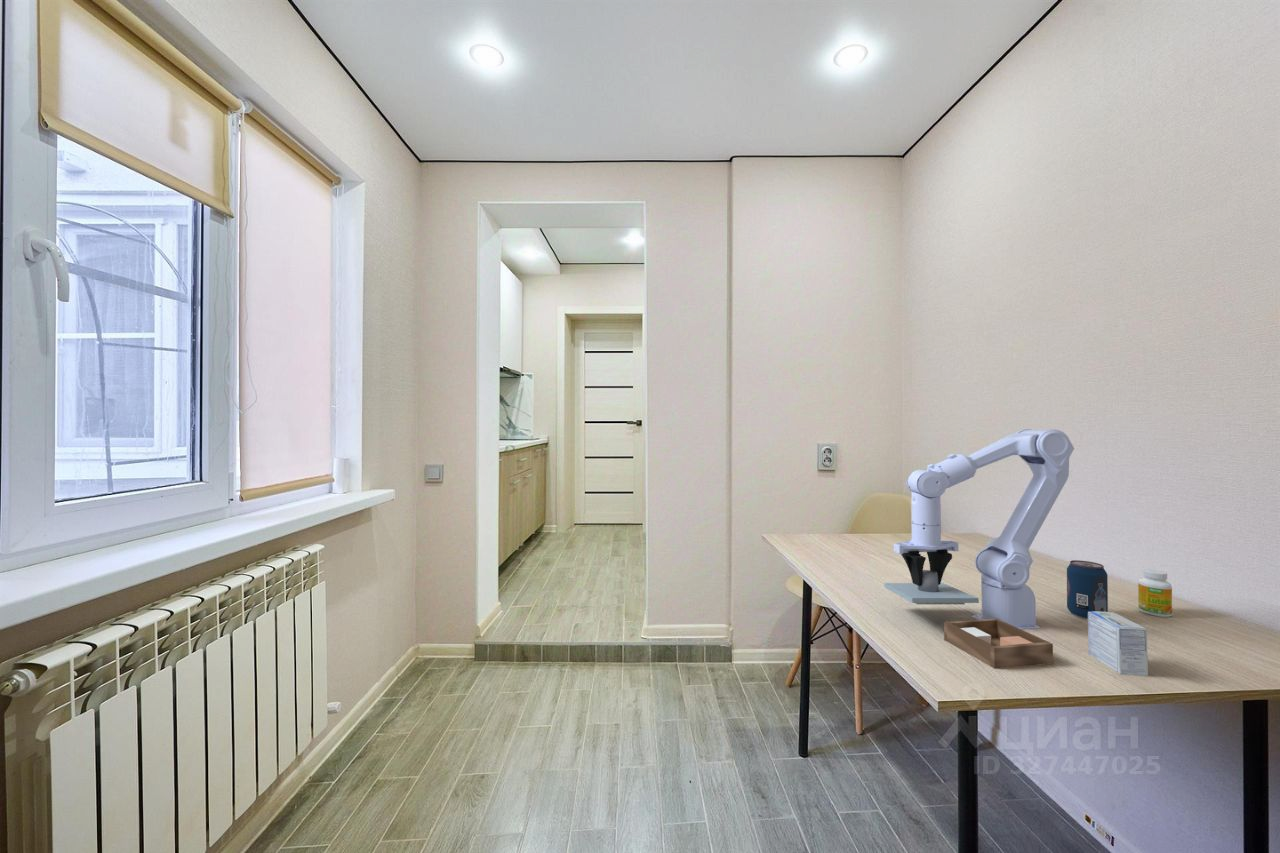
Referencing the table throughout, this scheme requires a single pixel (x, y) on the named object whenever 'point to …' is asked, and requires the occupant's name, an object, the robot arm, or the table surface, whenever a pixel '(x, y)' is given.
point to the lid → (931, 591)
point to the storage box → (998, 644)
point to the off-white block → (978, 634)
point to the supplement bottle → (1155, 593)
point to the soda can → (1086, 588)
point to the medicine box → (1118, 643)
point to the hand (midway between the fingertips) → (926, 583)
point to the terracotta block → (1013, 640)
